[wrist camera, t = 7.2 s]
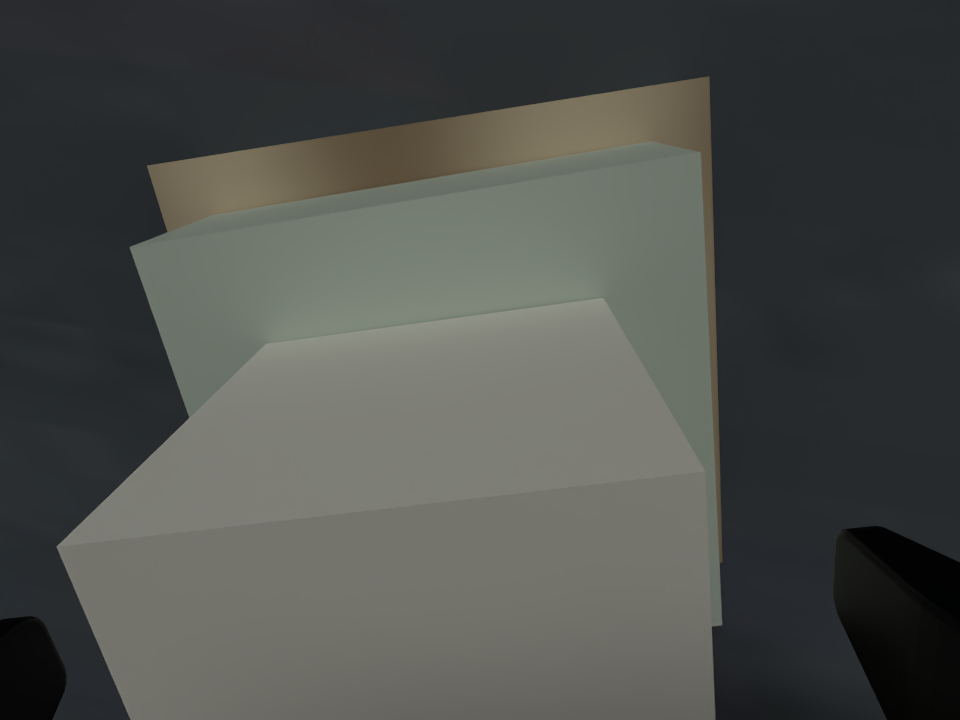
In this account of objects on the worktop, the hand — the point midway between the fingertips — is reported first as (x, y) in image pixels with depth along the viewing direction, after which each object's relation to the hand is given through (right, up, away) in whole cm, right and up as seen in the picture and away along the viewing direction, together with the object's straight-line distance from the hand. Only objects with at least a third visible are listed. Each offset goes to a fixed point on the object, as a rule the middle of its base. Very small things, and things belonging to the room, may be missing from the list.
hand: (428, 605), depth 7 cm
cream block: (0, +1, +3) cm, 3 cm away
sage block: (0, +2, +6) cm, 6 cm away
